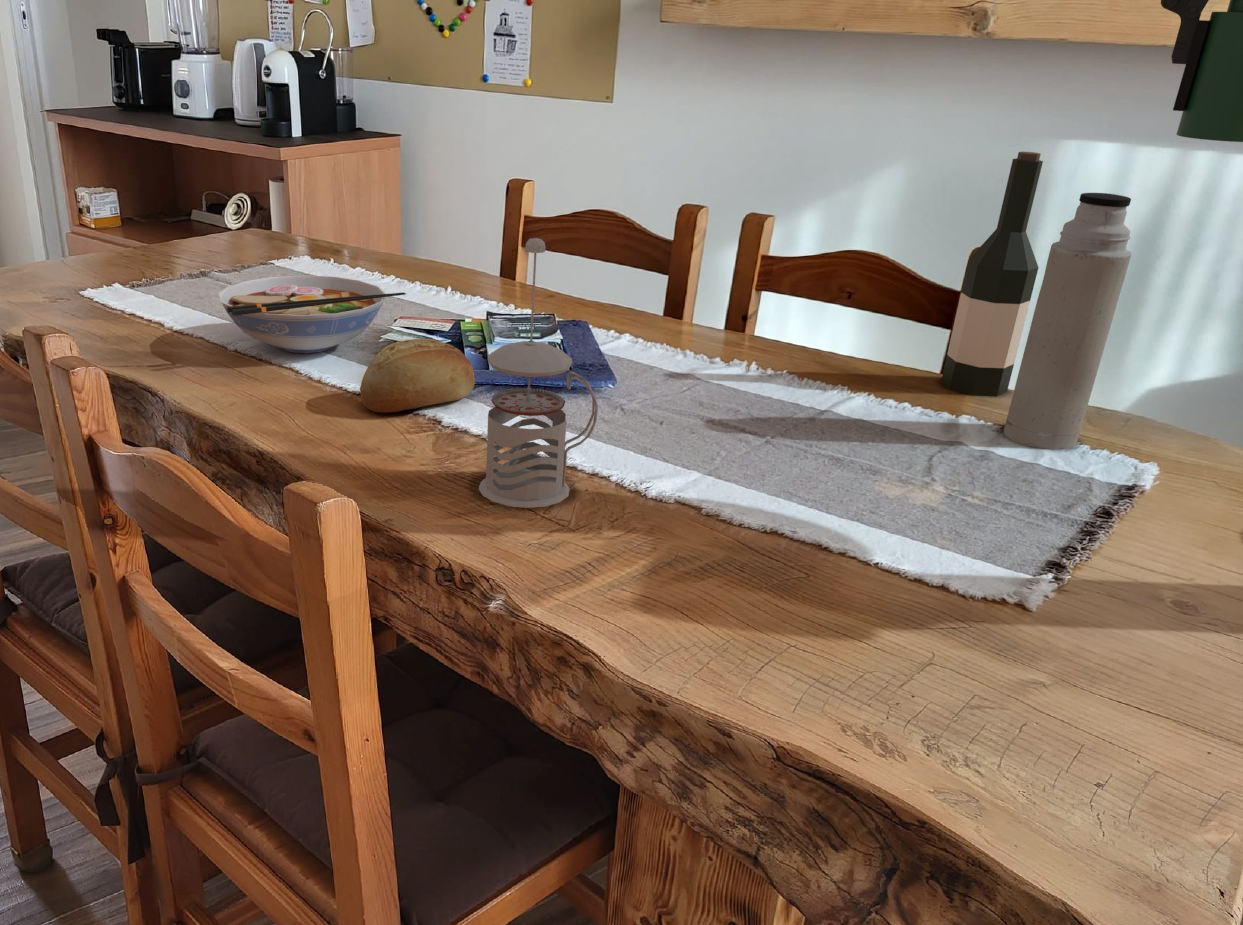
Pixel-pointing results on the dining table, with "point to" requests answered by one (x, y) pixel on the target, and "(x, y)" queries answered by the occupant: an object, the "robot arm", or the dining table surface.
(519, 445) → the french press
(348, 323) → the ramen bowl
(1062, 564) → the dining table surface
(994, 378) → the wine bottle
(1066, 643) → the dining table surface
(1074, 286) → the thermos bottle
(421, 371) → the bread roll
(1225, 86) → the green bottle
